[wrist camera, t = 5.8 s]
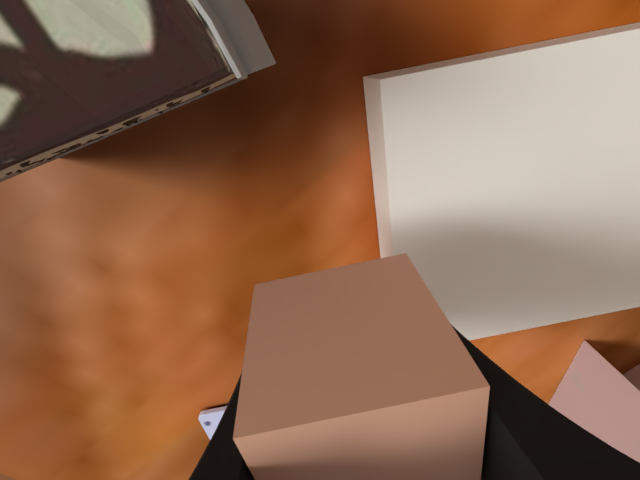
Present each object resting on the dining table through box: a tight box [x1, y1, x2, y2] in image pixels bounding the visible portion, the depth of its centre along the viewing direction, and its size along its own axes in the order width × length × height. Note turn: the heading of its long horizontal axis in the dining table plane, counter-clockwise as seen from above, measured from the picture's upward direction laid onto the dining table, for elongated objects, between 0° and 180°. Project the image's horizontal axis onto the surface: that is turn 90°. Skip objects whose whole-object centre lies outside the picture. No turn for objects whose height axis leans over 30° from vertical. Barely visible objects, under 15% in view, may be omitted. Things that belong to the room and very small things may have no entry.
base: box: [363, 22, 640, 340], centre depth 16 cm, size 14×14×3 cm
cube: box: [233, 253, 490, 480], centre depth 10 cm, size 5×5×5 cm
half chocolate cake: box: [0, 0, 276, 182], centre depth 9 cm, size 12×6×10 cm, turn 110°
